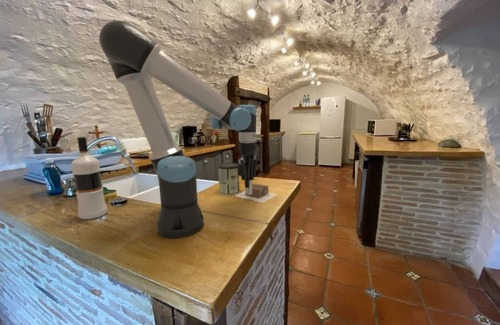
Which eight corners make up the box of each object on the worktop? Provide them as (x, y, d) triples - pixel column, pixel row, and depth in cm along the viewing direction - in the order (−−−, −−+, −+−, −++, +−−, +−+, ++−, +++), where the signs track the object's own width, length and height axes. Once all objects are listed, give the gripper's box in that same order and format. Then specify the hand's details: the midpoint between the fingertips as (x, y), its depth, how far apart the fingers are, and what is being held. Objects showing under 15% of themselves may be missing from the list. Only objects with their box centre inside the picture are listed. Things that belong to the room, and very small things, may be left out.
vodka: (73, 222, 78) (59, 138, 73) (84, 211, 87) (72, 136, 81) (103, 218, 81) (91, 137, 75) (111, 209, 90) (100, 136, 84)
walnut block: (259, 198, 100) (259, 190, 99) (245, 195, 104) (245, 187, 103) (268, 193, 106) (268, 185, 105) (254, 190, 110) (254, 183, 110)
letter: (263, 203, 95) (262, 202, 94) (234, 196, 104) (234, 195, 103) (277, 194, 105) (277, 194, 105) (249, 189, 114) (249, 188, 114)
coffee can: (227, 187, 117) (226, 162, 114) (243, 191, 111) (243, 163, 109) (214, 193, 108) (213, 165, 105) (231, 197, 103) (230, 167, 100)
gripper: (245, 143, 87) (247, 200, 91) (263, 140, 97) (263, 191, 102) (231, 143, 91) (233, 196, 96) (249, 140, 101) (250, 188, 106)
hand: (248, 193), depth 99 cm, fingers closed
